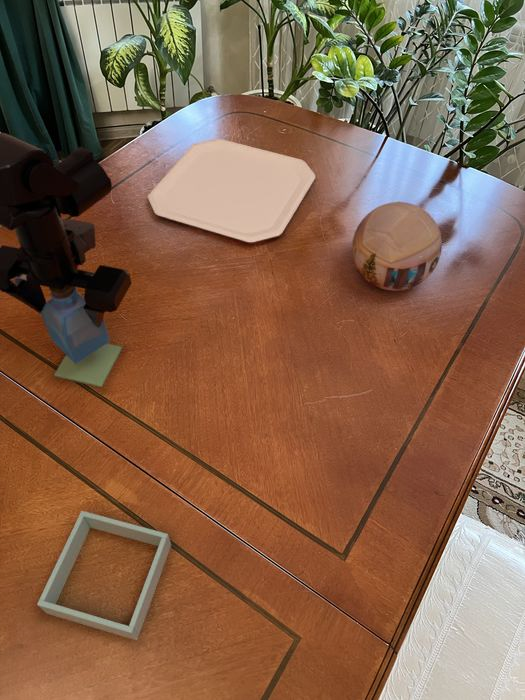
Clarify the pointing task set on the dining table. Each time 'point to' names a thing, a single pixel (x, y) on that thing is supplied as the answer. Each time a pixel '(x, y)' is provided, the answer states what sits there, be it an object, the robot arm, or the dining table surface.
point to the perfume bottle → (72, 324)
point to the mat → (90, 366)
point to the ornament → (396, 246)
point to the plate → (233, 190)
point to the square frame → (69, 558)
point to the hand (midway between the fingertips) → (72, 319)
